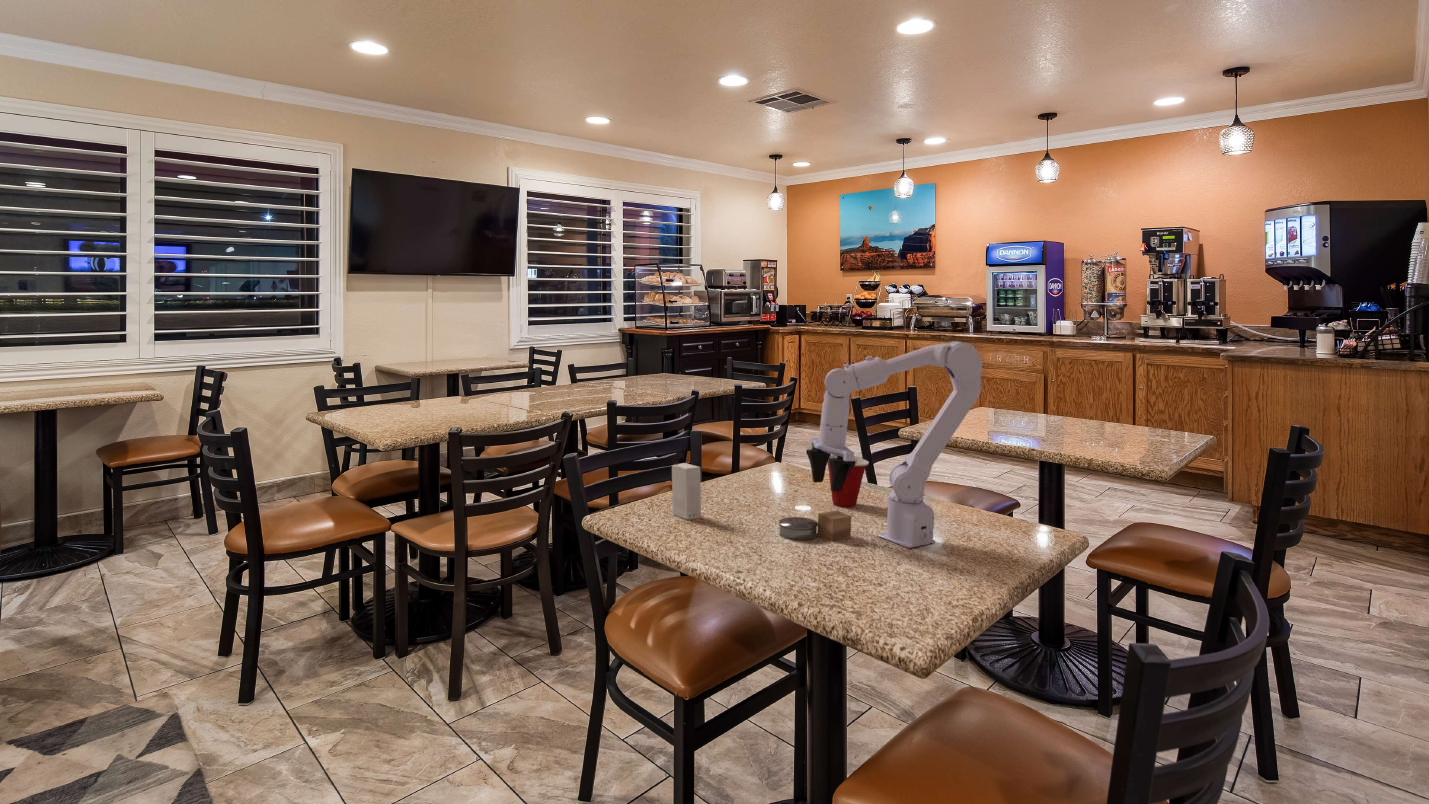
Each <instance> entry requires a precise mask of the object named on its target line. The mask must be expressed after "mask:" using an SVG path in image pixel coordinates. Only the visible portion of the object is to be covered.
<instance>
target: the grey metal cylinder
mask: <svg viewBox="0 0 1429 804" xmlns="http://www.w3.org/2000/svg"><path fill="white" fill-rule="evenodd" d="M778 525H779V531H778V532H779V536H780V537H781V538H783V539H786V540H789V541H798V542H799V541H800V542H802V541H804V542H806V541H811V540H814V539H816V538H817V534H818V521H817V520H815V519H811V518H808V517H800V516H792V517H791V516H789V517H784V518H783V517H782V518H781V519H779V520H778Z"/></svg>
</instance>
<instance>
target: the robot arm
mask: <svg viewBox="0 0 1429 804" xmlns="http://www.w3.org/2000/svg"><path fill="white" fill-rule="evenodd" d="M923 366H924V367H925V366H934V367H939V368H944V369H945V370H946V371H947V373H948V375H949V378H950V381H951V385H952V389H953V390H952V391H951V393H950V394H949V396H948V397H947V399H946V401H945V402H944V404H943V405H942V406H941V408H940V410H939V411H938V413H937V414H936V416H935V417H934V419H932V422H931V423H930V425H929V426H928V428H927V429H926V431H925V432H924V433H923V435H922V437H921V438H920V440H919V441H918V442H917V444H916V446H915V447H914V449H913V450H912V451H911V452H910V453H909V454H907V455H906V456H905V458H904V459H903V461H901V463H900V464H897V465H896V466H894V467H893V468H892V469H891V471H890V474H889V483H890V485H891V486H892V487H893V489H891V490H892V491H891V492H889V494H888V498H887V500H888V501H887V515H886V516H887V518H886V519H887V520H886V532H882V533H877V536H878V537H879V538H882V539H885V540H887V541H890V542H892V543H894V544H898V545H899V546H902V547H905V548H909V549H910V548H916V547H921V545H922V546H926V545H931V544H930V543H932V544H935V543H936V540H935V539H934V527H935V526H934V525H935V523H934V522H935V512H934V510H933V507H931V506H930V505H928V504H926V502H925V501H924V496H923V493H924V492H925V486H926V481H927V480H928V478H929V477H930V474H931V473H932V472H931V471H932V467H933V465H934V464H935V462H936V461H937V459H938V458H939V456H940V454H941V453H942V451H943V450H944V449H945V447H946V446H947V444H948V443H949V441H950V440H951V438H952V437H953V436H954V434H955V432H956V431H957V429H958V428H959V427H960V425H961V424H962V422H963V421H964V419H966V416H967V415H968V413H969V412H970V410H971V409H972V408H973V406H974V405H975V403H976V402H977V400H978V399H979V397H980V394H981V390H982V389H981V387H982V384H981V383H982V368H983V361H982V358H981V356H980V354H979V351H978V349H977V348H976V347H975V346H974V345H973V344H971V343H969V342H962V341H959V340H953V341H949V342H947V343H945V342H944V343H938V344H937V343H936V344H932V345H928V346H924V347H922V348H919V349H916V350H912V351H910V352H908V353H907V352H906V353H904V354H901V355H898V356H895V357H892V358H889V359H887V360H885V359H883V358H882V357H879V356H875V357H873V356H872V355H867V356H866V357H865V360H862V361H859V362H855V363H852V364H849V363H845V364H843V368H840V367H838V368H834V369H832V370H830V371H829V372H828V373H827V374H826V376H825V378H824V381H823V383H824V388H825V389H826V390H825V393H824V394H823V402H822V407H821V414H820V415H821V416H820V423H819V425H820V426H819V434H818V436H819V437H810V439H809V447H810V449H806V451H805V453H806V455H807V457H808V461H809V465H810V468H811V476H812V477H811V478H812V482H813V483H823V482H824V478H825V476H826V475H825V473H826V469H827V466H828V463H827V462H828V460H829V463H830V467H831V475H832V478H831V487H830V490H831V489H832V491H833V492H841V491H842V489H843V486H844V483H845V481H846V478H847V476H848V474H849V473H850V471H851V470H852V468H853V467H854V466H855V464H856V461H854V457H855V451H854V450H851V449H850V448H849V447H847V446H846V441H847V432H848V424H849V423H848V422H849V416H850V415H849V413H850V407H851V406H850V395H851V393H852V391H856V392H859V391H862V390H866V389H869V388H872V387H874V386H878V385H882V384H886V383H887V382H888V379H889V377H890V376H891V375H894V374H898V373H901V372H905V371H909V370H914V369H917V368H921V367H923ZM830 455H834V456H837V458H829V457H830Z"/></svg>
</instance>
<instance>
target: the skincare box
mask: <svg viewBox="0 0 1429 804" xmlns="http://www.w3.org/2000/svg"><path fill="white" fill-rule="evenodd" d="M701 483H702V482H701V466H697V465H693V464H689V463H686V462H683V463H676V464H673V465H671V485H672V488H671V489H672V491H671V493H672V494H671V495H672V515H674V516H676V517H679V518H681V519H684V520H687V521H688V520H695V519H700V518H701V517H702V505H701V503H702V502H701V501H702V500H701V499H702V498H701V496H702V495H701V494H702V491H701V487H702V485H701Z"/></svg>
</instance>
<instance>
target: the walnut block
mask: <svg viewBox="0 0 1429 804" xmlns="http://www.w3.org/2000/svg"><path fill="white" fill-rule="evenodd" d="M817 523H818V526H817V534H816V536H818V537H821V538H822V539H825V540H828V541H829V542H831V543H832V542H838V541H843V540H849V539H851V536H852V535H851V533H852V532H851V531H852V515H849V514H846V513H843V512H841V511H838V510H833V511H825V512H820V513H817Z"/></svg>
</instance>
